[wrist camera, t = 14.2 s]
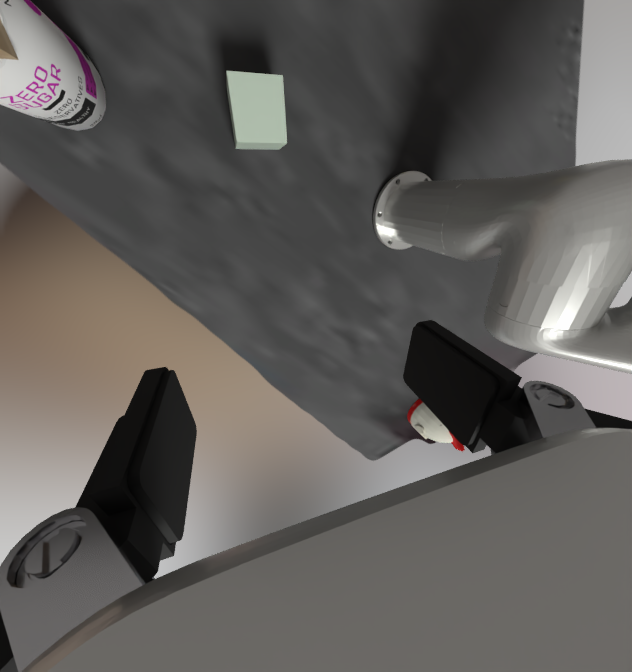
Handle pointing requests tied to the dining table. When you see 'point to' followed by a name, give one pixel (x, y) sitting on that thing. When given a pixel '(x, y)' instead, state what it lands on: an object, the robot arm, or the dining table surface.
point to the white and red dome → (430, 425)
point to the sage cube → (257, 110)
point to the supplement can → (48, 71)
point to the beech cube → (6, 45)
